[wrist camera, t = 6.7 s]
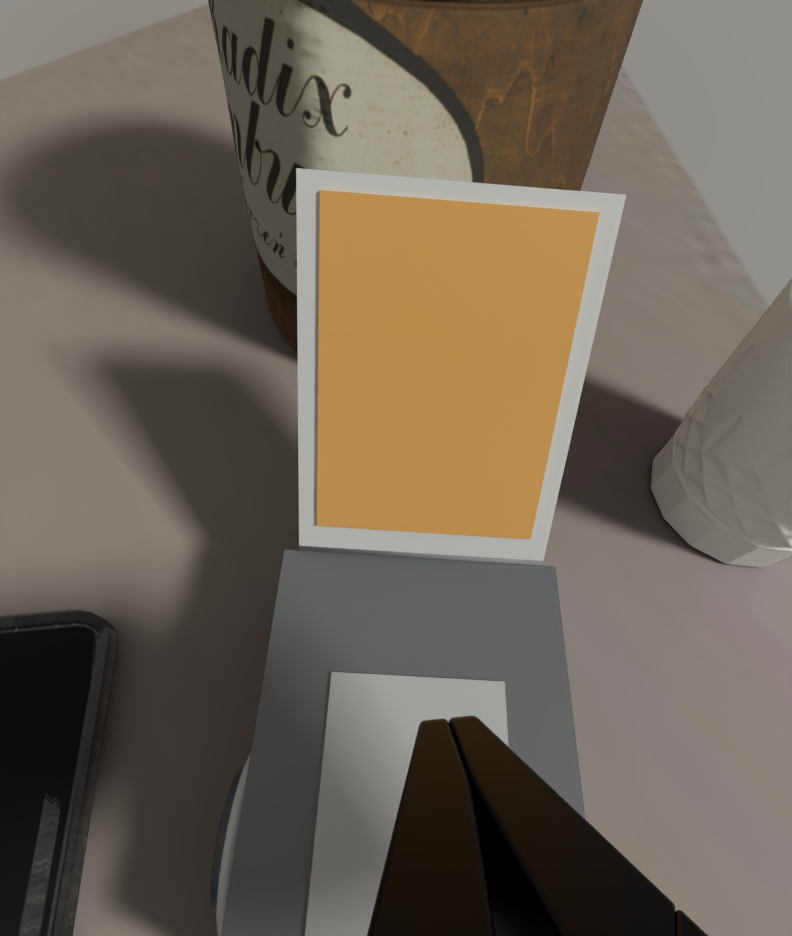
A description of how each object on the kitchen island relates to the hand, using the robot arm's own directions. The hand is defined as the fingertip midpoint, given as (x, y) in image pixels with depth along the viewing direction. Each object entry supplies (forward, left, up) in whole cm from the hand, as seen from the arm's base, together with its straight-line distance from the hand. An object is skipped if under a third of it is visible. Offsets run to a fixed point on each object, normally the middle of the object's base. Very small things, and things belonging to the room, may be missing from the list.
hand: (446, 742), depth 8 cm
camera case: (0, 0, -11) cm, 11 cm away
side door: (+8, 0, -2) cm, 8 cm away
